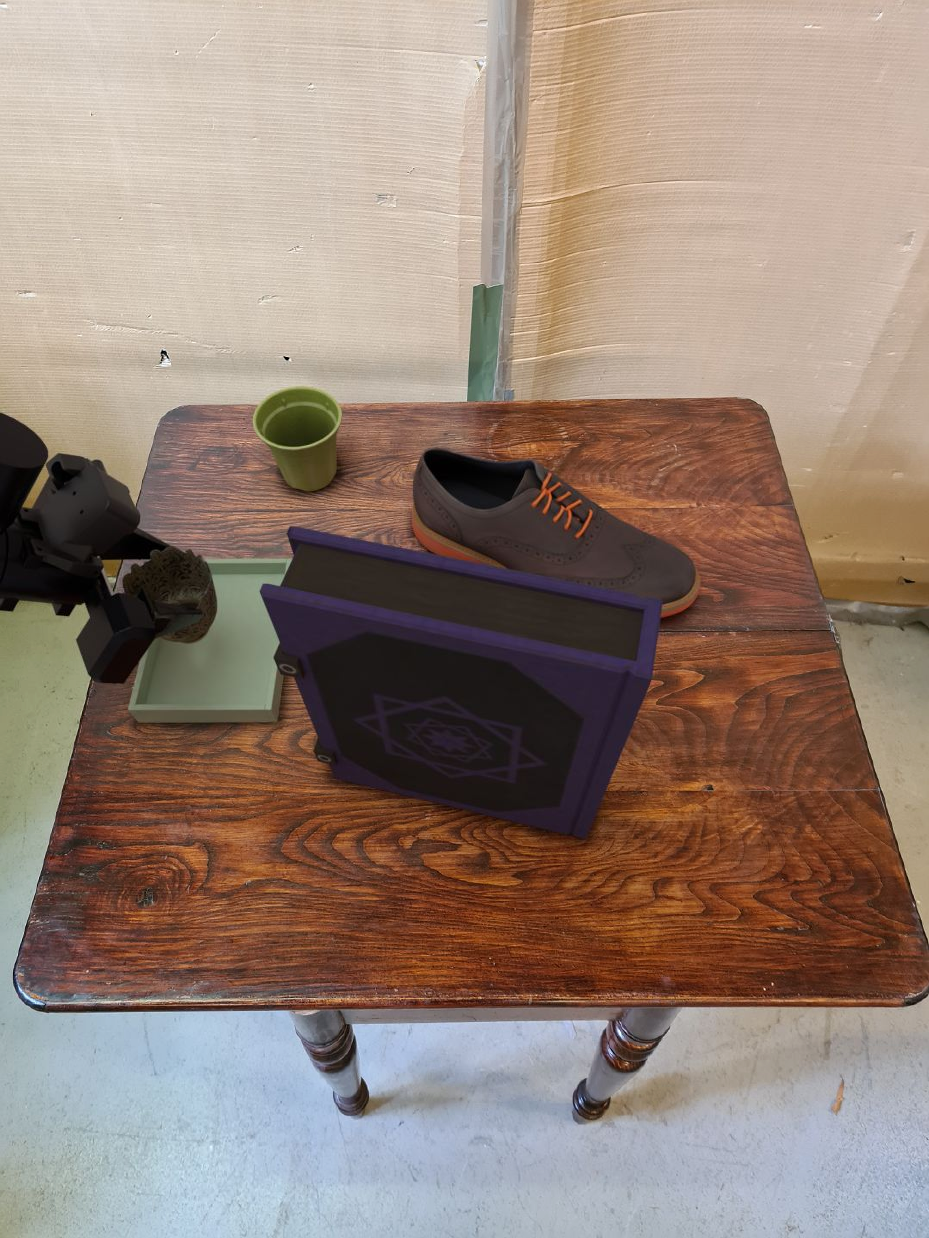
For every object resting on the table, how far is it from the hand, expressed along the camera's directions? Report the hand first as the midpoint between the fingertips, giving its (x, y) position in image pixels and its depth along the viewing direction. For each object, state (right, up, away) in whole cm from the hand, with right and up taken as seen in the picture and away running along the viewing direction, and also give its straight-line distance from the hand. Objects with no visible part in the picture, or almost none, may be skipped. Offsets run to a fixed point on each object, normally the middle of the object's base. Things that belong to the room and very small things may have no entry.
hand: (185, 583), depth 69 cm
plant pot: (+6, +14, +23) cm, 28 cm away
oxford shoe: (+33, +2, +16) cm, 37 cm away
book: (+24, -18, +3) cm, 30 cm away
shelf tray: (0, -6, +11) cm, 12 cm away
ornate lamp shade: (-1, -4, +5) cm, 7 cm away
